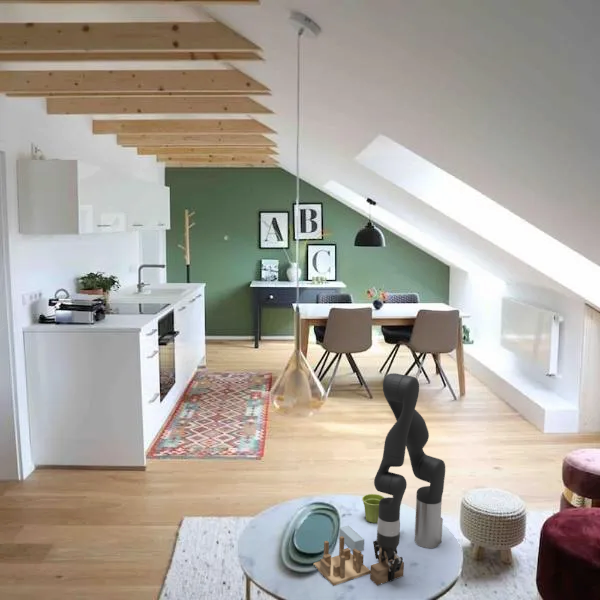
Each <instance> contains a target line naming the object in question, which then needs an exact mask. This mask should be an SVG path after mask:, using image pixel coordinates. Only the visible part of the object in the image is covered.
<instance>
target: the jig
mask: <svg viewBox="0 0 600 600" xmlns="http://www.w3.org/2000/svg"><path fill="white" fill-rule="evenodd" d="M338 543H339V546H338V547H339V548H338V549H339V551H338V555H336V556H332V555H331V554H330V552H329V551H330V550H329V549H330V548H329V547H330V546H329V544H330V542H329V541H328V540H325V541H323V556H322V558H320V560H319V561H316V562H313V566H314V565H315V566H316V568H317V569H318V570H317V569H316V568H315V569H316V570H317V571H318V572H319V573H320V574H321V575H322V576H323V577H324V578H325V579H326V580H327V581H328V582H329V583H330V584H331V585H332V586H333V587H334V586H337V585H340V584H344V583H347V582H349V581H351V579H352V580H355V579H357V578H361V577H364V576H366V575H370V568H368V567H367V566H366V565H365V564H364V554H362V551H358V550H356V549H353V551H352V553H351V549H350V548H349V547H345V543H344V537H343V536H341V537H340V539H339V542H338ZM354 578H355V579H354Z"/></svg>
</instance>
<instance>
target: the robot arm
mask: <svg viewBox="0 0 600 600" xmlns="http://www.w3.org/2000/svg"><path fill="white" fill-rule="evenodd" d="M382 391H383V396H384V398H385V400H386V402H387V404H388V406H389V407H390V410H391V411H392V413H393V416H394V418H395V420H396V421H395V423H394V424H393V425H392V427H391V428H390V429H389V431H388V433H387V434H386V436H385V439H384V446H383V454H382V459H381V462H380V465H379V467H378V470H377V472H376V475H375V477H374V480H373V486H374V487H375V490H377V492H379V493H383V494H387V495H388V496H389V495H390V496H392V497H384V498H383V499H381V500H380V502H379V514H378V522H377V523H376V526H377V528H376V540H373V542H372V544H373V550H374V557H375V559H376V560H378V561H377V563H379V562H382V561H385V560H386V564H387V565H388V582H392V581H394V580H395V579H394V578H395V572H397V571H399V570H400V567H401V564H402V561H403V560H404V558H403V557H402V556H399V555H398V547H399V545H400V534H401V520H400V518H401V517H400V515H401V505H402V501H403V497H404V494H405V492H406V489H407V485H408V484H407V479H406V478H405V477H404V476H403V475H402V474H398V473H395V472H390V471H389V470H390V468H391V467H393V468H398V467H402V466H403V465H404V463H405V457H406V456H405V455H406V449H407V453H408V456H409V460H410V466H411V470H412V473H413V475H414V476H415V478H416V479H418V480H421V481H422V482H426V483H429V485H427V486H421V487H419V488H417V490H416V494H415V495H416V497H415V520H414V521H415V522H414V543H415V544H416V545H418V546H419V547H422V548H425V549H433V548H437V547H438V546H439V545H440V543H442V540H443V538H442V537H443V523H444V522H443V521H444V519H443V518H442V504H443V503H442V500H443V493H444V488H445V486H444V485H445V479H446V477H445V476H446V464H445V461H444V460H443V459H440V458H437V457H434V456H430V455H428V454H426V453H425V451H424V449H423V448H425V446H426V444H427V443H428V442H429V441H428V440H429V437H430V435H429V434H430V433H429V430H428V426H427V423H426V420H425V419H424V417H423V415H421V413H419V412H418V411H417V410H416V406H417V402H418V398H419V392H420V383H419V380H418V378H416V377H414V376H412V375H406V374H400V373H394V372H393V373H388V374H387V375H385V376H384V379H383V381H382ZM392 559H393V560H392ZM389 560H391V561H389ZM403 562H404V561H403ZM391 564H392V565H393V567H391Z"/></svg>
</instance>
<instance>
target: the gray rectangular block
mask: <svg viewBox="0 0 600 600" xmlns="http://www.w3.org/2000/svg"><path fill="white" fill-rule="evenodd" d="M338 529H339V532H338V539H339V540H340V537H341V536H343V537H344V545H345V546H347V548H349V549H350V551H352V552H353V549H356V550H358V551H360V552H362V551H363V552H364V550H365V539H364V538H363V537H362V536H361V535H360V534H359V533H358V532H357V531H356V530H355V529H354V528H353V527H351V526H350V525H349V524H348V525H344V526H341V527H339V528H338Z"/></svg>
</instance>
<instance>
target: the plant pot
mask: <svg viewBox="0 0 600 600" xmlns="http://www.w3.org/2000/svg"><path fill="white" fill-rule="evenodd" d="M383 498H385V497H384V496H383V495H381V494H376V493H371V494H370V493H369V494H365V495H363V496H362V499H361V501H362V502H363V507H364V516H365V520H366V522H370V523H372V524H377V522H378V514H379V502H380V500H381V499H383Z"/></svg>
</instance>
